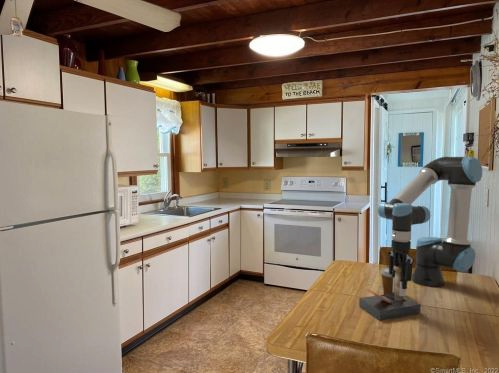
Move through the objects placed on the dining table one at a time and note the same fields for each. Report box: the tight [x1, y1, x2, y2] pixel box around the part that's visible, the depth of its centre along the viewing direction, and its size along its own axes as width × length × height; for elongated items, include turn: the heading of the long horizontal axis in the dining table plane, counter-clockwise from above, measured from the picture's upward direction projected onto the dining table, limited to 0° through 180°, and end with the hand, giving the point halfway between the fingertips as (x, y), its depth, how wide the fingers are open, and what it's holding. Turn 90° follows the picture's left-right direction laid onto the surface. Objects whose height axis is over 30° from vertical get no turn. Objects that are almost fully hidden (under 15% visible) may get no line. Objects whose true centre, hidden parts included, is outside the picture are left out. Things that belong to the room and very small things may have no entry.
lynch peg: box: [394, 266, 403, 302], centre depth 158 cm, size 5×5×15 cm
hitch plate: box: [358, 293, 422, 321], centre depth 158 cm, size 20×14×4 cm
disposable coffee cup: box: [380, 266, 393, 295], centre depth 174 cm, size 10×10×12 cm
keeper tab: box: [366, 288, 393, 304], centre depth 156 cm, size 10×6×1 cm, turn 109°
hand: (399, 293), depth 159 cm, fingers closed on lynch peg, 3 cm apart
